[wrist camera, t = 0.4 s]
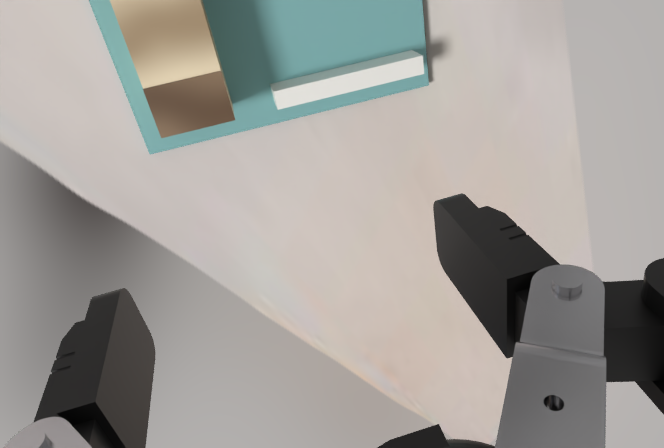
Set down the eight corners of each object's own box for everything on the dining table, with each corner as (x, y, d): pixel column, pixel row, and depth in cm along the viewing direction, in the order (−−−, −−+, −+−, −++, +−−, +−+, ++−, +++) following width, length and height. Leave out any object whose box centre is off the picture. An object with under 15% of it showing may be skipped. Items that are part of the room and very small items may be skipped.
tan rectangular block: (87, -92, 27) (72, -96, 24) (171, -108, 27) (167, -115, 24) (165, 120, 33) (161, 138, 30) (232, 103, 34) (235, 120, 31)
